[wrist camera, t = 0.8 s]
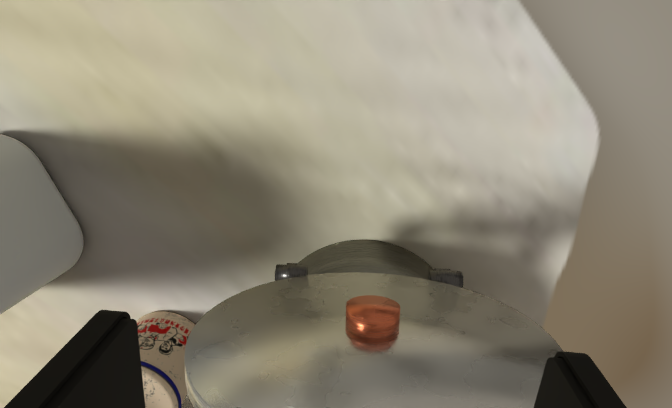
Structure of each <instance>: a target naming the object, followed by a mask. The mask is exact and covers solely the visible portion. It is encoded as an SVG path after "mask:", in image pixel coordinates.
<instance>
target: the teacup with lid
mask: <svg viewBox="0 0 672 408" xmlns="http://www.w3.org/2000/svg"><path fill="white" fill-rule="evenodd" d="M136 322H137V329H138V339H139V349H140V359H141V369H142V379H143V389H144V398H145V408H181V405H182V403H183V401H184V399H185V397H186V395H187V387H186V382H185V362H184V356H185V345H186V342H187V340H188V337H189V334H190V332H191V331H192V329H193V328H194V326H195V324H194V323H192V322H191V321H190V320H188V319H187V318H185V317H183V316H181V315H179V314H176V313H172V312H165V311H160V312H153V313H149V314H147V315H145V316H143V317H141V318H140V319H139V320H137V321H136Z"/></svg>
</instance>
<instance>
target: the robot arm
mask: <svg viewBox="0 0 672 408" xmlns="http://www.w3.org/2000/svg"><path fill="white" fill-rule="evenodd" d="M4 408H145V398H144V389H143V379H142V369H141V359H140V349H139V339H138V329H137V322H136V320H134V319H130V315H129V314H128V313H127V312H120V311H109V310H101V311H99V312H98V313H96V314H95V315H94V316H93V317H92V318H91V319H90V320H89V321H88V323H87V324H86V325H85V326H84V327H83V328H82V329H81V330H80V331H79V332H78V333H77V334H76V335H75V336H74V337H73V338H72V339H71V340H70V341H69V342H68V343H67V344H66V345H65V346H64V347H63V348H62V349H61V350H60V351H59V352H58V353H57V354H56V355H55V356H54V357H53V358H52V359H51V360H50V361H49V362H48V363H47V364H46V365H45V366H44V367H43V368H42V369H41V370H40V372H39V373H38V374H37V375H36V376H35V377H34V378H33V379H32V380H31V381H30V382H29V383H28V384H27V385H26V386H25V387H24V388H23V389H22V390H21V391H20V392H19V393H18V394H17V395H16V396H15V397H14V398H13V399H12V400H11V401H10V402H9V403H8V404H7V405H6V406H5V407H4ZM534 408H626V406H625V405H624V404H623V402H622V401H621V399H620V398H619V397H618V395H617V394H616V393H615V391H614V390H613V388H612V387H611V386H610V384H609V383H608V381H607V380H606V379H605V377H604V376H603V374H602V373H601V372H600V370H599V369H598V368H597V366H596V365H595V363H594V362H593V361H592V359H591V358H590V357H589V356H588V355H587V354H584V353H573V352H562V351H559V352H557V353H556V354H555V356H554V357H550V358H548V359H547V362H546V365H545V368H544V372H543V375H542V379H541V383H540V386H539V390H538V393H537V397H536V401H535V404H534Z"/></svg>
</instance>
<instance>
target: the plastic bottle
mask: <svg viewBox="0 0 672 408" xmlns="http://www.w3.org/2000/svg"><path fill="white" fill-rule="evenodd" d="M83 243H84V242H83V234H82V231H81V228H80V226H79V224H78V222H77V220H76V219H75V217H74V215H73V214H72V212H71V210H70V209H69V207H68V205H67V204H66V202H65V201H64V199H63V197H62V196H61V194H60V192H59V191H58V189H57V188H56V186H55V184H54V183H53V181H52V179H51V178H50V176H49V174H48V173H47V171H46V170H45V168H44V166H43V165H42V163H41V161H40V160H39V158H38V157H37V156H36V155H35V153H34V152H33V151H32V150H31V149H29V148H28V147H27V146H26V145H24V144H23V143H22V142H20V141H18V140H16V139H14V138H12V137H9V136H5V135H1V134H0V314H2V313H3V312H5V311H6V310H8V309H9V308H11V307H12V306H14V305H15V304H17V303H18V302H20V301H21V300H23V299H25V298H26V297H28V296H29V295H31V294H32V293H34V292H35V291H37V290H38V289H40V288H41V287H43V286H44V285H46V284H48V283H49V282H51V281H52V280H54V279H55V278H57V277H58V276H60V275H61V274H63V273H64V272H66V271H67V270H69V269H70V268H72V267H73V266H74V265H75V264H76V262H77V261H78V259H79V258H80V256H81V254H82V250H83Z"/></svg>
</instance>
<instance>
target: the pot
mask: <svg viewBox="0 0 672 408" xmlns="http://www.w3.org/2000/svg"><path fill="white" fill-rule="evenodd" d="M346 272H359V273H382V274H393V275H402V276H409V277H416V278H422V279H427V280H432V281H437V282H441V283H446V284H450V285H454V286H457V287H460V288H462V286H463V275H462V272H459V271H450V269H435V271H434V270H433V269H432V267H430V266H429V265H428V264H427V263H426V262H425V261H424V260H422V259H421V258H419V257H418V256H417V255H415V254H414V253H412V252H410V251H408V250H406V249H404V248H402V247H399V246H396V245H393V244H390V243H385V242H381V241H373V240H351V241H344V242H339V243H335V244H332V245H328V246H326V247H324V248H321V249H319V250H317V251H315V252H313V253H312V254H310V255H308V256H307V257H305V258H304V259H303V260H302V261H300V262H299V263H298V264H295V263H287V264H286V265H276V270H275V281H278V280H282V279H287V278H293V277H299V276H305V275H314V274H325V273H346Z"/></svg>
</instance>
